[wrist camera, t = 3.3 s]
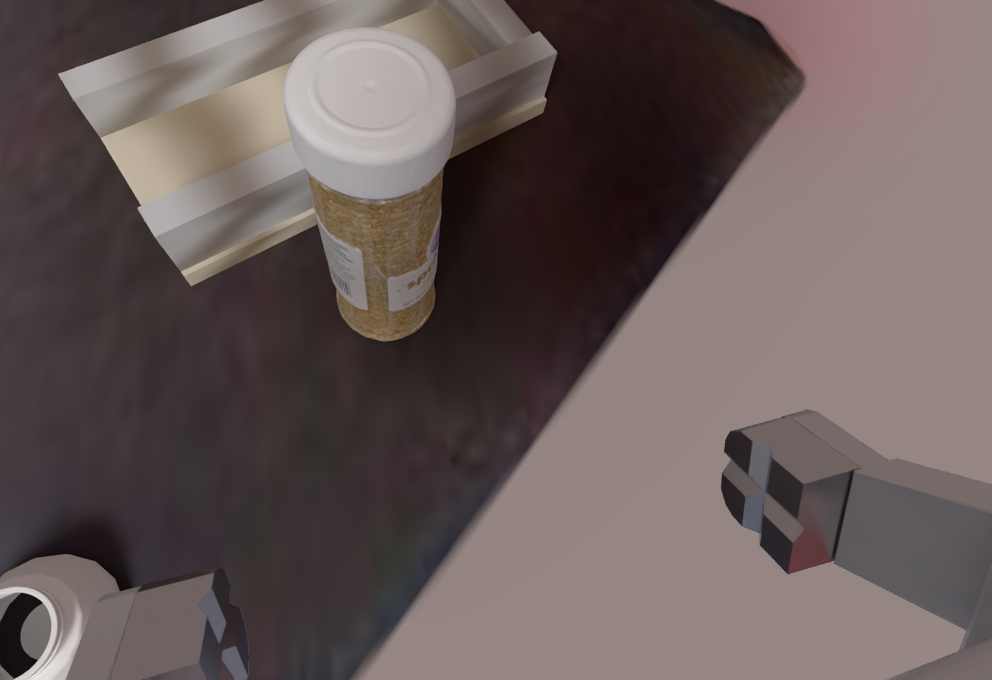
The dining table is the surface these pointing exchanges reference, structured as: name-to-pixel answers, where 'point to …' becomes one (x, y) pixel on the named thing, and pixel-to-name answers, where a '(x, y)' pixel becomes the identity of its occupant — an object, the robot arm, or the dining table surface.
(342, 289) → the sprinkles bottle
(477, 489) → the dining table surface
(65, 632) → the lidless jar
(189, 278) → the track
